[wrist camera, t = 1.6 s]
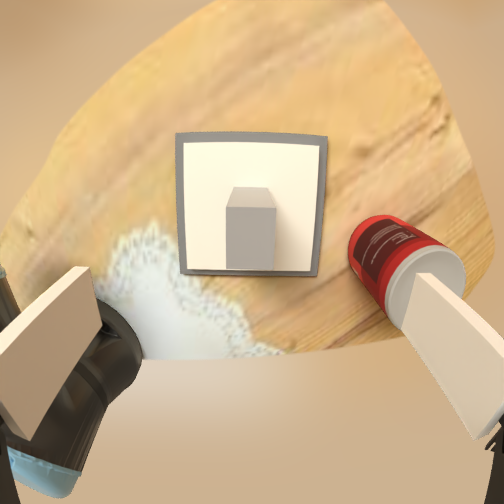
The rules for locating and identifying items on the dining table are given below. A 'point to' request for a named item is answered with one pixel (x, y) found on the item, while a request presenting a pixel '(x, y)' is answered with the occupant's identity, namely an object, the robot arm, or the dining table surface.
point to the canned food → (400, 262)
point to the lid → (250, 205)
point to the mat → (258, 138)
